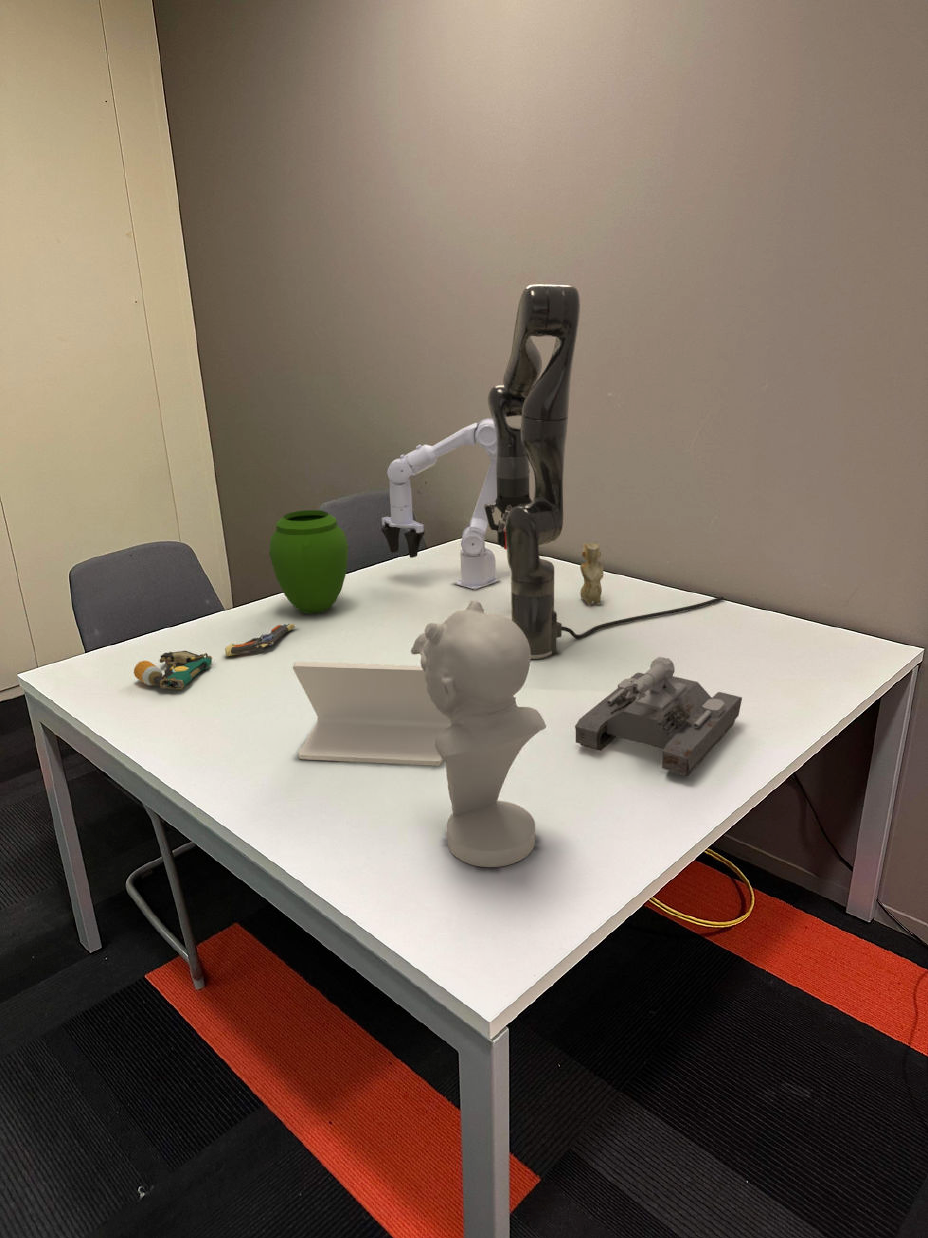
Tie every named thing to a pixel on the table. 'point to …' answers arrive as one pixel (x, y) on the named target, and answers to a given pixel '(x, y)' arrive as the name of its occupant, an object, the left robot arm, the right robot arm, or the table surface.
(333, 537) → the vase
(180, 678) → the multicoloured piece
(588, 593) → the sculpture
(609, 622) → the right robot arm
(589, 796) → the table surface
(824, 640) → the table surface
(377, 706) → the tablet stand
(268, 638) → the toy gun
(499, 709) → the bust sculpture
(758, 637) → the table surface
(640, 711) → the toy
